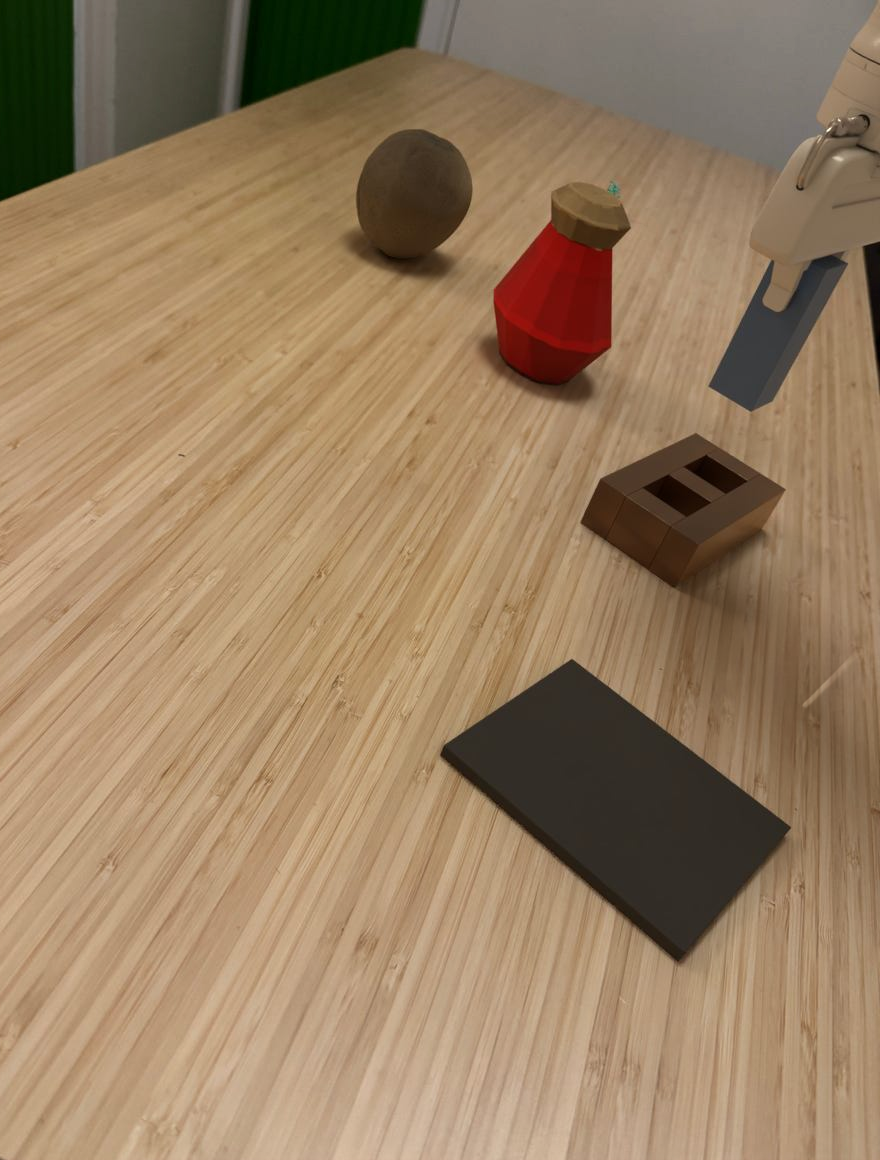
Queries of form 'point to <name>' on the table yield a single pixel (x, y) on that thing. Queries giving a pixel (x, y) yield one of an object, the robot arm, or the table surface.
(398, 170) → the cantaloupe
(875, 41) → the robot arm
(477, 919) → the table surface
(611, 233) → the bottle
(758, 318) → the peg
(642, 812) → the mat
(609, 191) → the anatomy model
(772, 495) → the peg block
